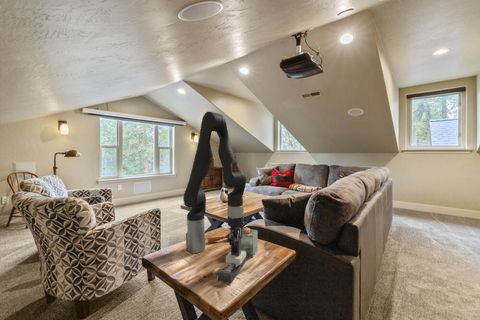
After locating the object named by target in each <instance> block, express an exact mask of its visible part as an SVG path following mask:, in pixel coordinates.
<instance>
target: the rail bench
mask: <svg viewBox="0 0 480 320" xmlns="http://www.w3.org/2000/svg"><path fill="white" fill-rule="evenodd" d="M258 241H259V239H258V230H257V229H251V228H250V234H243V233H242V239H241V251H246V257H245V259H244V260H243V261H242V263H241V264H240V265H238V266H237V267H235V264H234V263H231V265H229V263H227V265H226V266H225V268H224V269H218V270H217V281H219V282H223V283H226V284H232V283H233V282H234V280H235V278H237V276H238V275H239V273H240V271H241V270H242V268H243V267H244V266H245V264H246V263H247V261H248V260H249V258H254V257H255V255H257V252H258V243H259V242H258Z"/></svg>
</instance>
